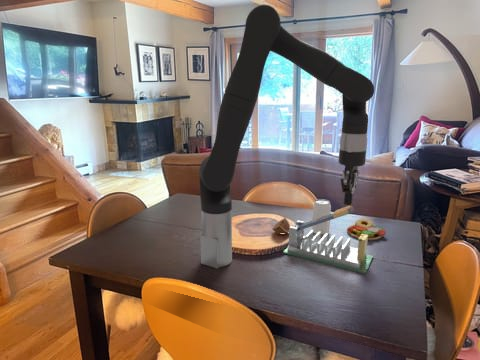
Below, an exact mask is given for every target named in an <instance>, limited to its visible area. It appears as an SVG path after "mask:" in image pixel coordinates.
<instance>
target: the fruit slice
mask: <svg viewBox="0 0 480 360" xmlns="http://www.w3.org/2000/svg"><path fill="white" fill-rule="evenodd" d="M290 227H291V224H290V222H289V220H288V219H287V218H286V217H284V218H282V219H281V220H279V221H277V222H276V223H275V224H274V225H273V227H271V228H272V231H273V232H275V233H276V232H278V233H288V232H289V228H290ZM278 233H277V234H278ZM288 234H289V233H288Z"/></svg>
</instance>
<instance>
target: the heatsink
mask: <svg viewBox="0 0 480 360" xmlns="http://www.w3.org/2000/svg"><path fill="white" fill-rule="evenodd" d="M303 223H305V221H302V220H297V221H296V223H295V226H296V225H297V224H303ZM304 231H305V229H302V230H299V231H298V228H296V227H294V226H291V225H290V228H289V233H288V245H287V248H286V249H284V250H283V253H282V254H285V255H289V256H292V257H297V258H300V259H304V260H309V261H312V262H315V263H318V264H319V263H320V264H324V265H328V266H332V267H336V268H338V269H343V270H347V271H351V272H354V273H359V274H363V275H366V273H367V272H368V269H369V267H370V265H371V263H372V261H373V259H372V258H374V255H371V254H367V250H368V241H369V240H368V235H366V234H361V236H360V237H359V239H358V244H357V245H358V246H357V247H353V246H351V241H352V240H351V238H350V237H348V238H347V240H346V242H345V243H343V241H344V240H343V238H344V236H340V237H339V239H338V240H337V241H336V234H332V235H331V237H330V238H329V240H328V236H329V233H326V234H325V235H322V238H321V235H320V233H321V232H318V233H317V234H314V233H313V230H312V229H311V230H310V231H309V232H308V233H307V234H306V235H304V234H305V233H304Z"/></svg>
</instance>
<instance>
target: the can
mask: <svg viewBox="0 0 480 360" xmlns="http://www.w3.org/2000/svg"><path fill="white" fill-rule="evenodd" d="M329 214H332V205H331V201H330V200H328V199H324V198H320V199H319V198H318V199H315V200H314V202H313V204H312V216H311V217H312V219H311V221H312V220H315V219H318V218H321V217H324V216H327V215H329ZM330 226H331V220H329V221H326V222H323V223H320V224H317V225H314V226H311V230H313V234H314V235H316V234H317V233H318V232H321V233H320V236H324V235H325V234H326V233H328V234H329V233H330V228H331V227H330Z"/></svg>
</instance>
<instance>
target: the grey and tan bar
mask: <svg viewBox="0 0 480 360" xmlns="http://www.w3.org/2000/svg"><path fill="white" fill-rule="evenodd" d="M354 210H355V208H354V206H352V204H351V205H346V206H344V207H341V208H339V209H338V208H337V209H336V210H335V211H334V212H331V214H329V215H327V216H324V217H321V218H318V219H315V220H312V219H311V220H309V221H307V222H304V223H303V224H297V225H296V224H295V225H294V226H293V227H296V228H298V231H299V230H302V229H304V230H305V229H308V228H310V227H311V228H312V226H314V225H317V224H320V223H323V222H326V221H329V220H330V221H333V220H335V219H337V218H340V217H341V218H342V217H343V216H347V215H349V214H352V213H353V211H354Z"/></svg>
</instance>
